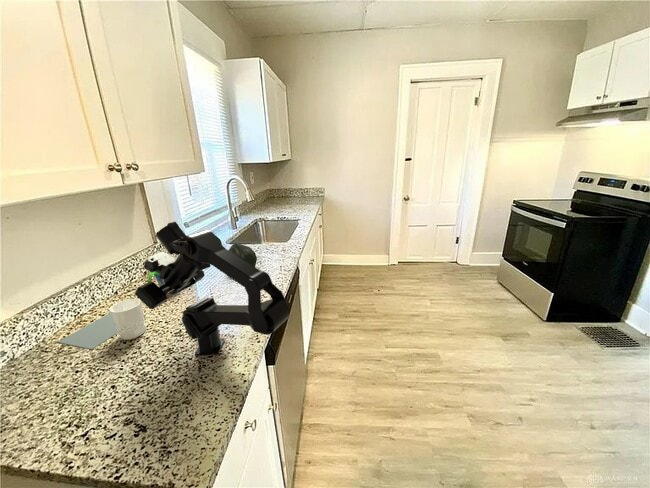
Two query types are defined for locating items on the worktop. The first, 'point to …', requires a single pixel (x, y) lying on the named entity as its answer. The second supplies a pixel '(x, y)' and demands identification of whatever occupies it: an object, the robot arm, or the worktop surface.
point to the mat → (92, 333)
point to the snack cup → (159, 280)
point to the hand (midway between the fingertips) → (161, 299)
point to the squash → (244, 253)
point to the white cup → (128, 318)
